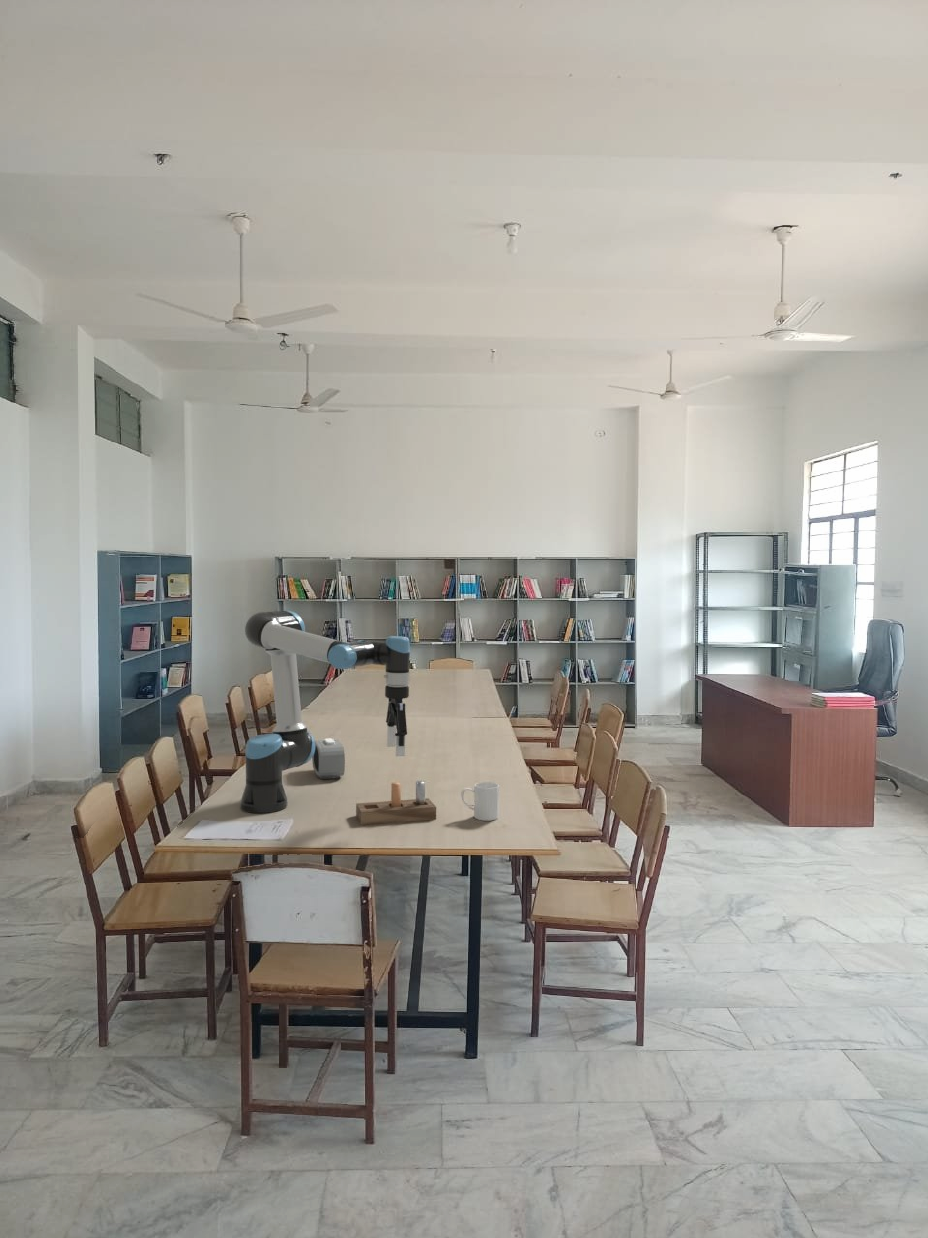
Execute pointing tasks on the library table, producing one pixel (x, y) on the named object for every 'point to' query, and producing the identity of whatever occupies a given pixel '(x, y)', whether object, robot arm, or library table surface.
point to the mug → (485, 801)
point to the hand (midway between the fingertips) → (395, 751)
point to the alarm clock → (329, 758)
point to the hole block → (394, 812)
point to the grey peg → (420, 793)
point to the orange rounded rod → (396, 794)
